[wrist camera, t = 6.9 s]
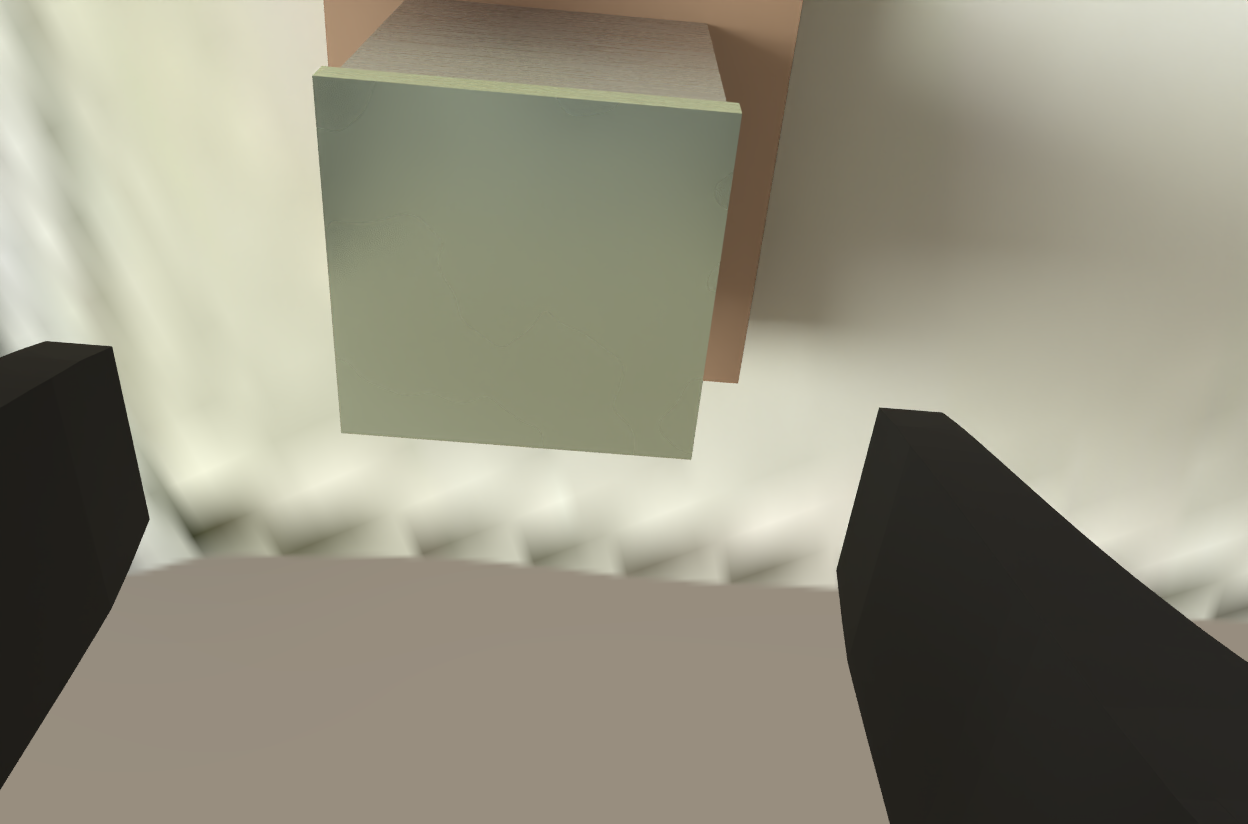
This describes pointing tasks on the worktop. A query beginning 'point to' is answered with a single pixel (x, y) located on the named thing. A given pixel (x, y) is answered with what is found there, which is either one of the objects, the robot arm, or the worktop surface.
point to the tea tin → (525, 226)
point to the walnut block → (751, 75)
